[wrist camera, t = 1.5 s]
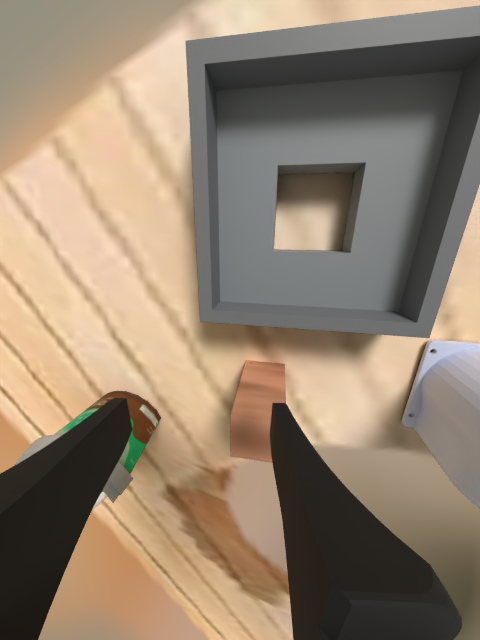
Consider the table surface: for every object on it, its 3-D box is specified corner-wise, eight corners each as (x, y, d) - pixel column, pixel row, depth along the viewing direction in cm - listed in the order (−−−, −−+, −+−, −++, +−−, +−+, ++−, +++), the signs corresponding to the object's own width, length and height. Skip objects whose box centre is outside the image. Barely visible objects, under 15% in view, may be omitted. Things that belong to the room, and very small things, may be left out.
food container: (150, 374, 27) (81, 447, 18) (171, 415, 28) (118, 502, 19) (71, 392, 30) (-23, 462, 21) (94, 428, 32) (17, 508, 22)
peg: (281, 396, 25) (282, 464, 17) (245, 392, 25) (230, 456, 18) (284, 364, 23) (286, 423, 16) (245, 360, 24) (230, 415, 17)
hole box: (394, 314, 20) (429, 338, 15) (216, 303, 22) (200, 321, 18) (457, 74, 14) (540, -2, 10) (211, 94, 17) (185, 40, 12)
